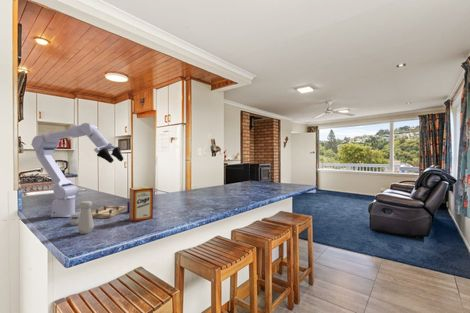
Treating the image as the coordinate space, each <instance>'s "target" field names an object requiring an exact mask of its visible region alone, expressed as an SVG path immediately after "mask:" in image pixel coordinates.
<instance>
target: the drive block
mask: <svg viewBox="0 0 470 313" xmlns="http://www.w3.org/2000/svg"><path fill="white" fill-rule="evenodd" d="M92 211H93V209H91V213H92ZM76 212H77V211H76ZM80 213H81V210H80V211H78V212H77V213H74V214H71V216H70V226H78V223H79V218H80Z"/></svg>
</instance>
